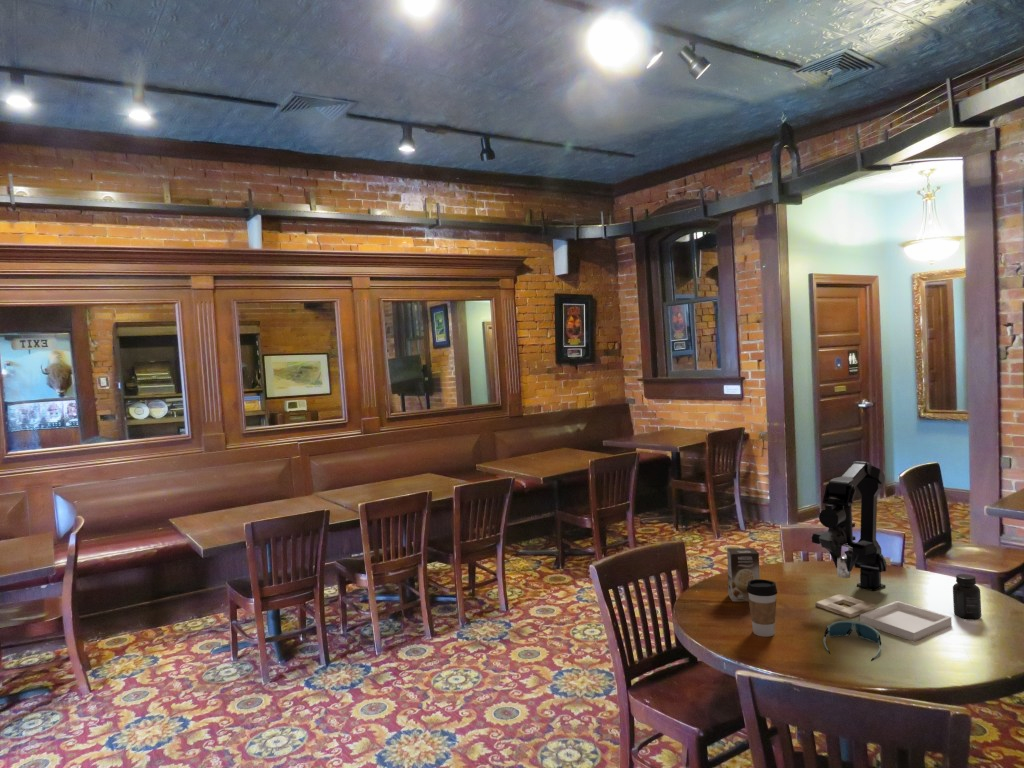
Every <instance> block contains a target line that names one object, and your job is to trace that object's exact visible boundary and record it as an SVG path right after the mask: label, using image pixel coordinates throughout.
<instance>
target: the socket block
mask: <svg viewBox="0 0 1024 768" xmlns="http://www.w3.org/2000/svg"><path fill="white" fill-rule="evenodd" d="M841 604H844V605H848V607H845V606H843V605H841ZM815 607H818V608H820V609H823V610H827V611H830V612H832V613H835V614H837V615H840V616H844V617H846V618H849V619H851V618H855V617H857V616H860V615H861V614H863V613H866V612H869V611H871V610H874V609H876V604H874V603H871V602H867V601H865V600H861V599H858V598H854V597H852V596H848V595H846V594H842V593H838V594H835V595H832V596H829V597H827V598H824V599H821V600H818V601H815Z"/></svg>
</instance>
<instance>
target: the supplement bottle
mask: <svg viewBox="0 0 1024 768" xmlns="http://www.w3.org/2000/svg"><path fill="white" fill-rule="evenodd" d="M955 579H956V581H955V582H956V583H955V584H953V585H952V599H953V601H952V602H953V603H952V604H953V614H954V616H955V617H957V618H959V619H962V620H967V621H977V620H980V619H981V618H982V601H981V599H982V597H981V596H982V595H981V588H980V587H979V586H978V585H977V579H976V576H975V575H972V574H967V573H960V574H956V577H955Z"/></svg>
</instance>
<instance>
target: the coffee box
mask: <svg viewBox="0 0 1024 768" xmlns="http://www.w3.org/2000/svg"><path fill="white" fill-rule="evenodd" d="M726 554H727V555H726V557H727V558H726V560H727V561H726V562H727V589H728V592H727V593H728V597H729V598H730V600H731V601H732V602H749V599H748V597H749V593H748V592H747V586H748V582H749V581H750V580H755V579H761V577H760V553H759V551H757V549H755V547H745V548H741V547H740V548H739V547H735V548H727V549H726Z"/></svg>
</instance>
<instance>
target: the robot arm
mask: <svg viewBox="0 0 1024 768" xmlns="http://www.w3.org/2000/svg"><path fill="white" fill-rule="evenodd" d="M885 481H886V476H885V474H884V472H883V471H882V470H881V469H880V468H878V467H876V466H875V465H872V464H871V463H870V462H868V461H861V460H860V461H859V460H858V461H857V460H855V461H852V464H851V466H850V467H848V469H847V470H846V471H845V472H844V473H843V474H842V475H841V476H839V477H833V478H832V479H830V480H829V481H828V482H827V484H826V486H825V490H824V494H823V500H822V504H826V505H825V507H824V509H822V510H821V511H820V513H819V515H818V520H819V522H820V524H821V525H822V526H824V527H825V528H827V529H828V530H827V531H823V530H821V531H818V532H814V533H812V535H811V543H813V544H816V545H817V544H818V545H820V546H821V548H824V549H826V551H828V553H829V554H830V557H831V559H832V560H833V564H834V565H835V569H837V556H842V547H847V548H848V550H845V551H844V554H845V556H847V569H848V572H850V573H851V572H852V570H853V568H856V569H860V570H859V573H860V574H859V581H860V582H859V583H856V586H857V587H860V588H863V589H867V590H871V591H874V592H875V591H877V590H880V589H883V588H886V585H885V584H884V583H882V574H881V573H884V572H886V571H887V566H888V565H887V561H886V559H885V557H884V555H883V553H882V547H881V546H880V544H879V542H878V541H877V520H878V519H877V510H878V509H877V508H878V507H877V506H878V495H879V494H880V493H881V492H882V490H883V488H884V484H885ZM856 488H857V489H856ZM857 490H858V492H859V494H860V496H861V497H860V499H861V500H860V537H859V540H858V541H857V542H856V536H855V535H854V533H853V528H855V527H856V524H855V523H853V513H852V512H853V511H852V510H853V509H852V504H853V503H854V501H855V497H856V494H857Z"/></svg>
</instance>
